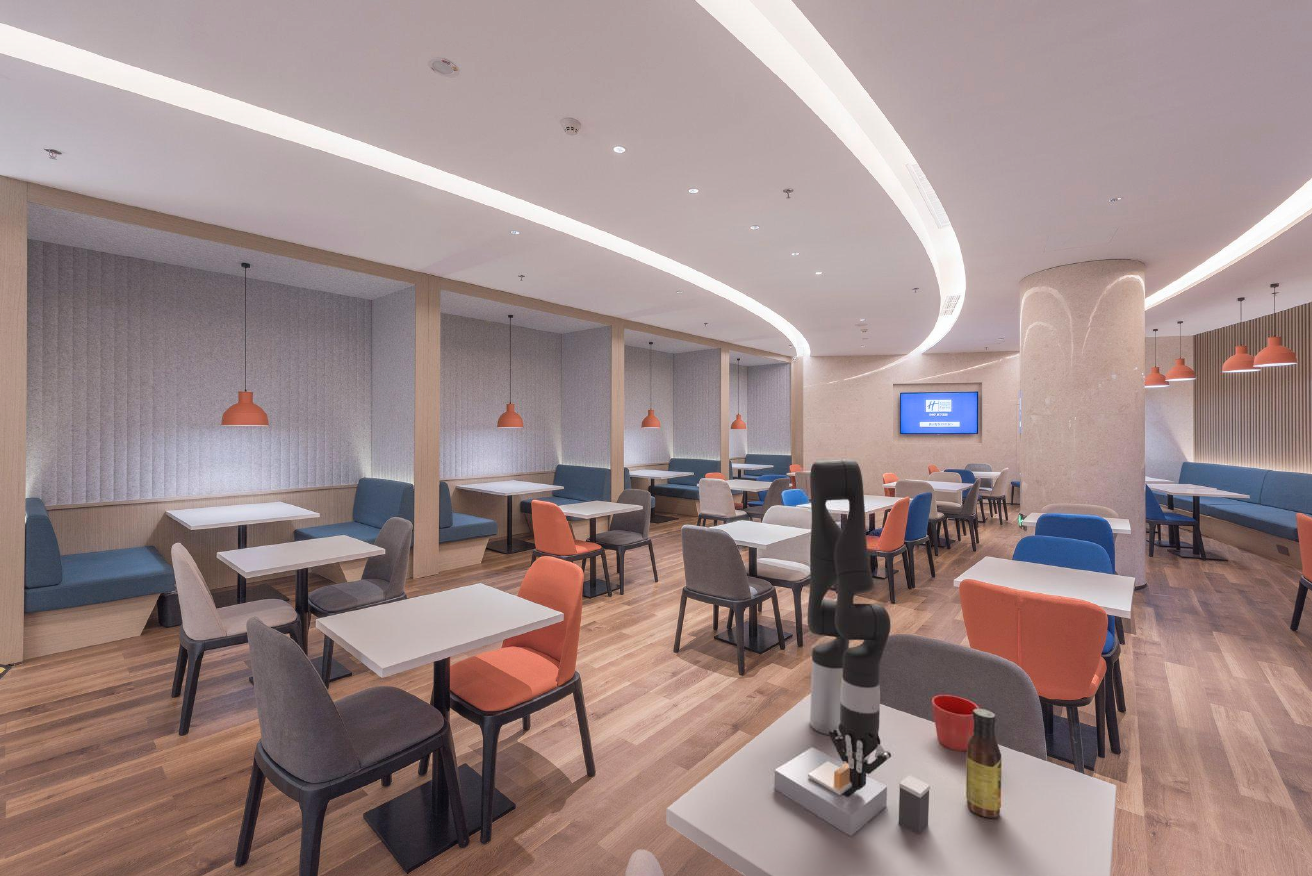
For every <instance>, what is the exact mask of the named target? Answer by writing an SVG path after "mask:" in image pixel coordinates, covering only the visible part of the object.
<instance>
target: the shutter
mask: <svg viewBox="0 0 1312 876" xmlns="http://www.w3.org/2000/svg"><path fill="white" fill-rule="evenodd" d="M844 764H845V765H843V766H842V767H838V766H836V765H834V764H832V763H831V762H829V761H827V762H826V763H824V764H823V765H821V766H820V767H818V768H816V769H815V770H813V771H812V772H810V773H809V774H808V777H809V778H811V779H813V780H814V781H816V782H818V783H819V784H821V785H823V786H825V787H826V788H828V789H830V790H832V791H833V792H835V793H837V794H839V795H841V794H842V793H844V792H845V791H846V790H848V789H849V788H850V787H852V783H851V782H850V767H849V765H848V763H847V762H845V763H844Z"/></svg>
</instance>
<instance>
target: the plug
mask: <svg viewBox="0 0 1312 876" xmlns="http://www.w3.org/2000/svg"><path fill="white" fill-rule="evenodd" d="M898 784H899V794H898V795H899V797H898V798H899V799H898V824H899V825H901V826H902V827H904V828H907V829H908V830H910V831H912V832H914V833H915V834H916V835H920V834H922V832H923V831H924V830H925V829H926V828H927V827H928V826H929V811H930V810H929V807H930V806H929V805H930V787H931V786H930V784H928V783H926V782H924V781H922V780H920V779H918V778H916V777H914V776H912V775H907V776H906V777H905V778H904V779H903V780H901V781H900V782H899V783H898Z"/></svg>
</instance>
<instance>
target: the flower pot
mask: <svg viewBox="0 0 1312 876" xmlns="http://www.w3.org/2000/svg"><path fill="white" fill-rule="evenodd" d="M931 700H932V701H931V704H932V713H933V718H934V724H935V730H936V731H935V732H936V737H937V740H938V742H939V743H940V744H941V745H943V746H944V747H946V748H949V749H952V750H954V751H959V752H960V751H961V752H963V751H966V752H967V743H968V739H969V738H970V736H971V735H972V734H973V732H974V731H973V728H974V718H973V710H974V709H980V707H979V705H978V704H976V703H975V702H972V701H971V700H968V699H965V698H963V697H960V696H955V695H951V694H950V695H949V694H939V695H936V696H933V697H932V699H931Z"/></svg>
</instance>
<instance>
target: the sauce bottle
mask: <svg viewBox="0 0 1312 876" xmlns="http://www.w3.org/2000/svg"><path fill="white" fill-rule="evenodd" d="M973 718H974V728H973V731H974V732H973V734H972V735H971V736H970V738H969V739H968V743H967V751H966V767H965V768H966V771H965V772H966V774H965V775H966V776H965V778H966V779H965V781H966V782H965V787H966V789H965V799H966V804H967V807H968V808H969V809H970V811H971V812H973V813H974V814H976V815H978V816H980V817H983V818H989V819H995V818H998V817H999V816H1000V813H1001V807H1002V775H1003V774H1002V762H1003V761H1002V753H1001V750H1000V746H999V743H998V741H997V738H996V733H995V730H996V729H995V728H996V726H995V724H996V722H997V720H996V719H997V718H996V714H995V713H994V712H992V711H990V710H988V709H984V708H979V709H974V710H973Z"/></svg>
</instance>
